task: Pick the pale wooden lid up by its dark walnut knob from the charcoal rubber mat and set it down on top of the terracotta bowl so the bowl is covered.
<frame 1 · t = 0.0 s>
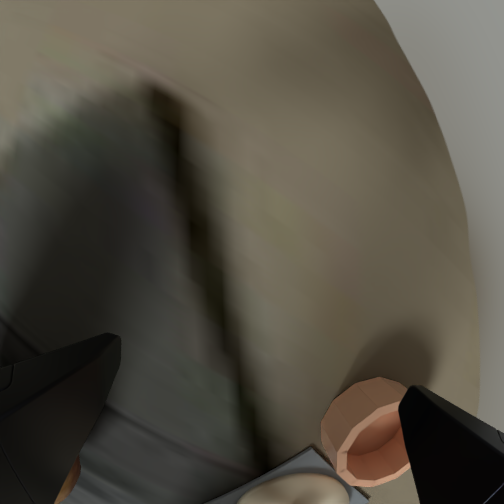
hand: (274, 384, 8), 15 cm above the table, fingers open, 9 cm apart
butternut squash: (39, 412, 22), on the table
bowl: (366, 420, 24), on the table
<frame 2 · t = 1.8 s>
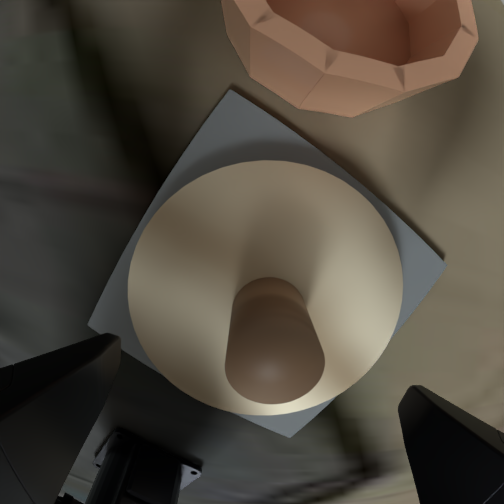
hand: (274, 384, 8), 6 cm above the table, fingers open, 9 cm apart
lid: (267, 301, 14), resting on mat
bowl: (329, 25, 11), on the table
mat: (266, 298, 14), on the table
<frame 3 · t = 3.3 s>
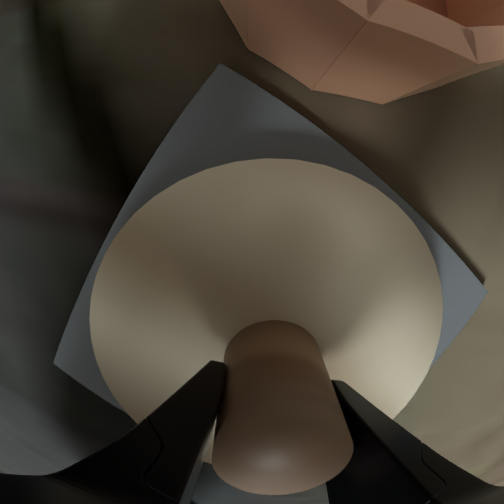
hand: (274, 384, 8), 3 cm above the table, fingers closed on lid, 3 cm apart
lid: (270, 345, 10), resting on mat, touching gripper
mat: (269, 340, 11), on the table
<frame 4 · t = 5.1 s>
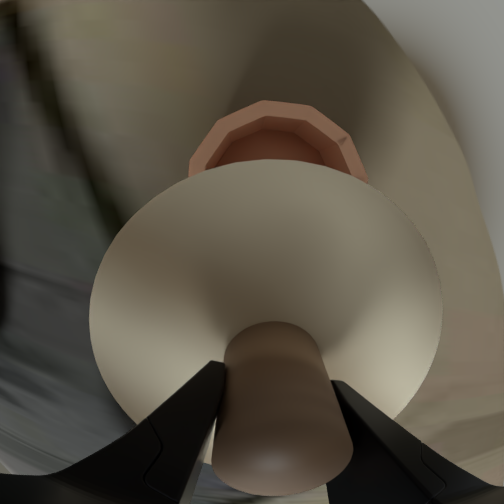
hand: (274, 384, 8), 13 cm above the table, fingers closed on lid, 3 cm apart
lid: (270, 346, 10), point 11 cm above the table, touching gripper
bowl: (271, 188, 20), on the table
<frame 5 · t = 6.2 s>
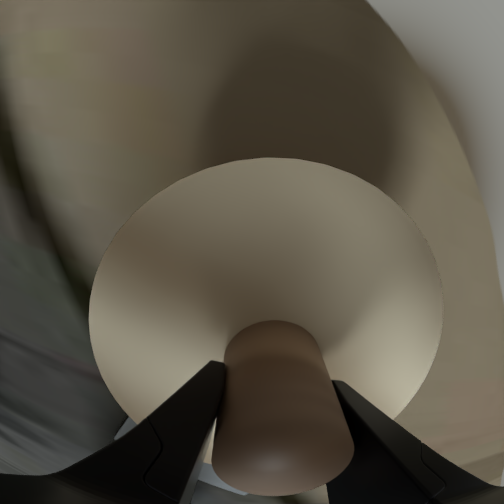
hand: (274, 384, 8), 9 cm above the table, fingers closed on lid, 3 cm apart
lid: (270, 346, 10), point 7 cm above the table, touching gripper
mat: (221, 435, 20), on the table
when the fingers open (8 cm above the table, at t = 7.0 s): lid drops 1 cm, resting on bowl.
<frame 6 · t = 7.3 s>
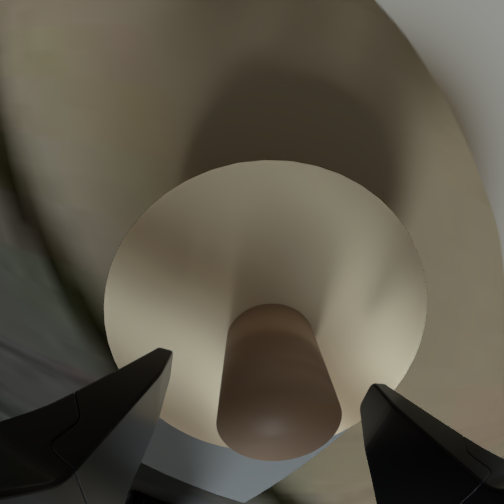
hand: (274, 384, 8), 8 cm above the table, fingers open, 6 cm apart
lid: (268, 329, 11), point 5 cm above the table, touching bowl
mat: (220, 444, 19), on the table
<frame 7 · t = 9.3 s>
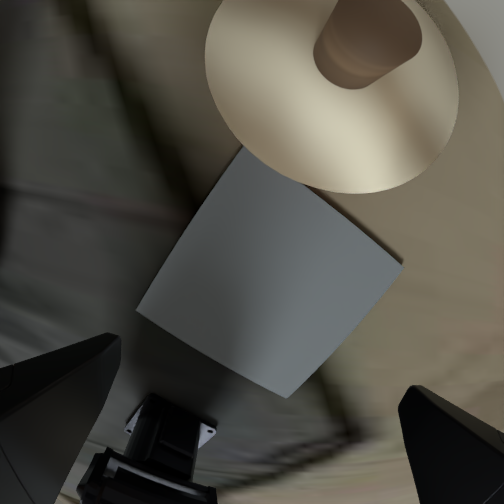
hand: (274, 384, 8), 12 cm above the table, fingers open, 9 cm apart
lid: (341, 64, 12), point 5 cm above the table, touching bowl
mat: (269, 289, 20), on the table
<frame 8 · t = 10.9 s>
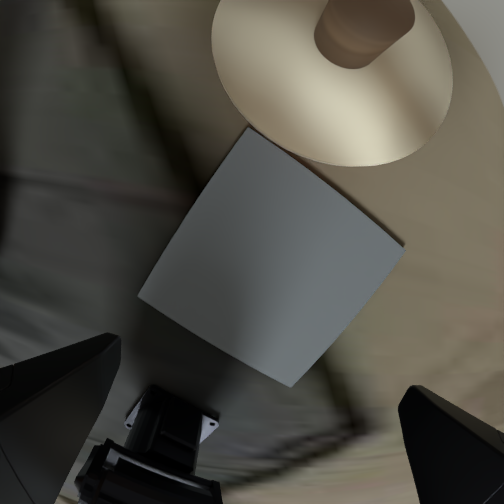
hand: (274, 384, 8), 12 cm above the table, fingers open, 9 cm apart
lid: (340, 48, 12), point 5 cm above the table, touching bowl
mat: (272, 272, 20), on the table
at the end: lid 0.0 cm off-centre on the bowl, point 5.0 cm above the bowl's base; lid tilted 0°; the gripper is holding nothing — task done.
